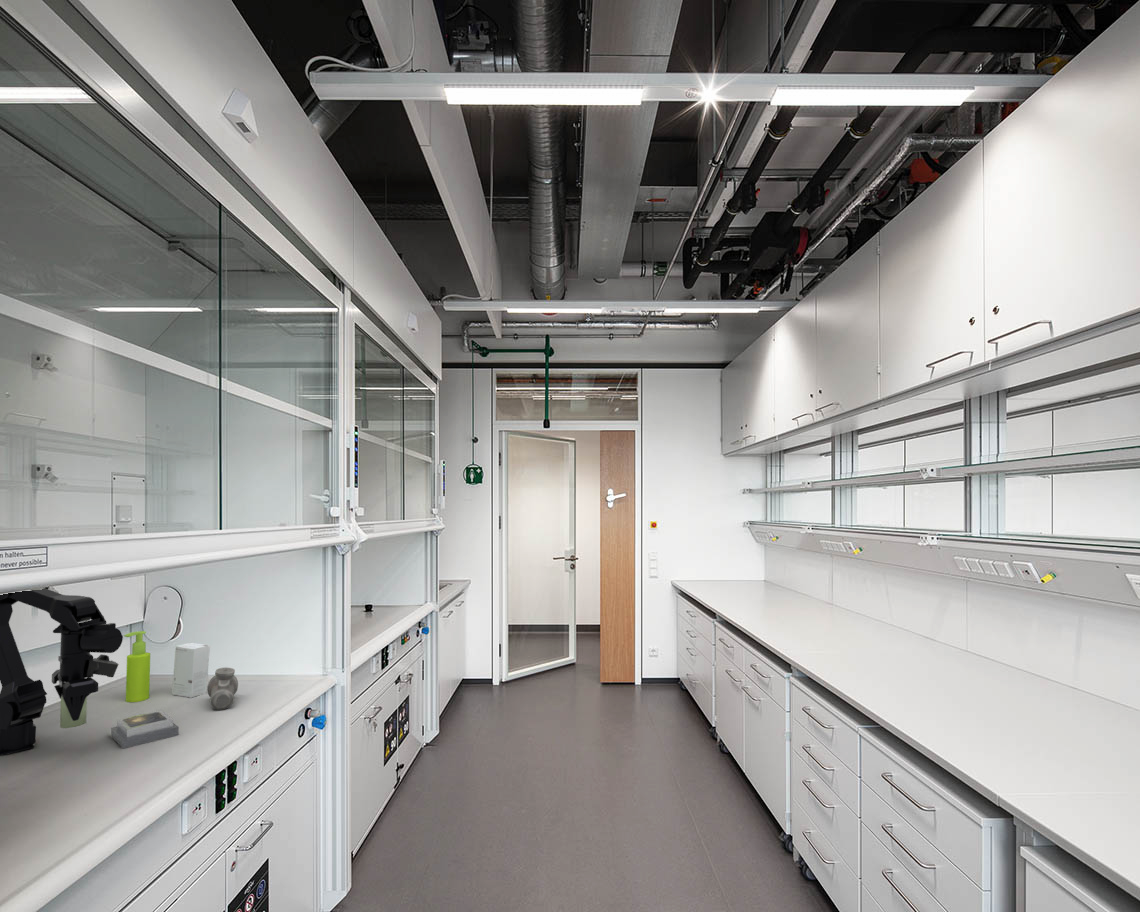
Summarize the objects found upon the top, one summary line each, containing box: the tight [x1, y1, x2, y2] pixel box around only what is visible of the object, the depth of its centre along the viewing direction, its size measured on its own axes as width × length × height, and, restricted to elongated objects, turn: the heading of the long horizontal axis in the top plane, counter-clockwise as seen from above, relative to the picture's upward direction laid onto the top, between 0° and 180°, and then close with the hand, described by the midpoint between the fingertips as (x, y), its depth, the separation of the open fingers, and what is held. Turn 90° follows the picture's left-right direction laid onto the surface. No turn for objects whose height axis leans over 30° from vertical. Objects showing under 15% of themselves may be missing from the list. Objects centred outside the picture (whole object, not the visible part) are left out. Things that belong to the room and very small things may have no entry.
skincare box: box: [171, 642, 211, 699], centre depth 201 cm, size 8×6×15 cm
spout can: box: [59, 696, 88, 729], centre depth 156 cm, size 5×5×9 cm
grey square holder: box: [110, 709, 180, 749], centre depth 167 cm, size 12×12×4 cm
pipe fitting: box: [207, 667, 239, 711], centre depth 190 cm, size 12×8×10 cm
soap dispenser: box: [123, 630, 151, 703], centre depth 196 cm, size 6×7×20 cm
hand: (73, 717), depth 156 cm, fingers closed on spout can, 5 cm apart
